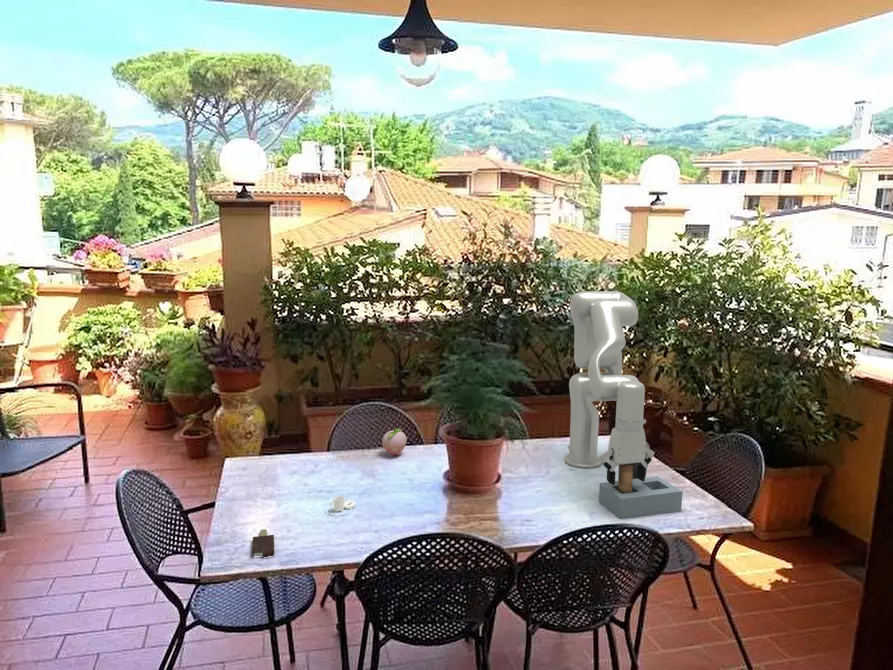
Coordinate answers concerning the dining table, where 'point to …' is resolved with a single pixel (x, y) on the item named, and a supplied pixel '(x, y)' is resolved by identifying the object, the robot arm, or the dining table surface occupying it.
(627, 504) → the bore block
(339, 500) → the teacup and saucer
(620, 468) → the walnut peg
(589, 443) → the robot arm
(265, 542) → the ice cream bar
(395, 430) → the decorative fruit
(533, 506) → the dining table surface
